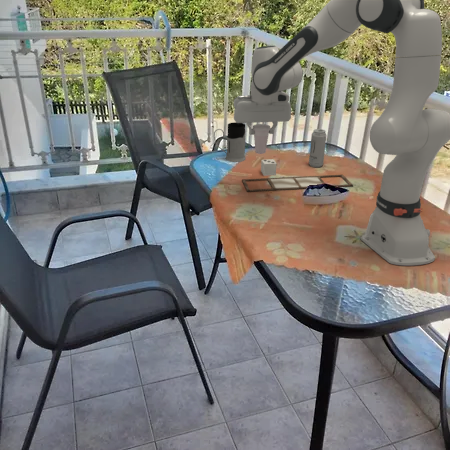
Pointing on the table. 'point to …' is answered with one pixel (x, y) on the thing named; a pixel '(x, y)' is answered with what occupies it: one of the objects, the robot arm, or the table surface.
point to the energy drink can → (317, 148)
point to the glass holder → (235, 142)
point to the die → (268, 167)
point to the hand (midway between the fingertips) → (261, 133)
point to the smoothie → (261, 137)
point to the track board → (293, 182)
